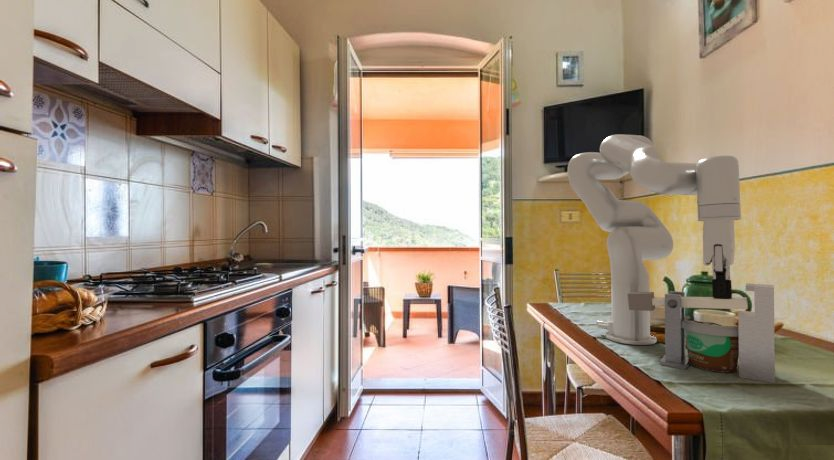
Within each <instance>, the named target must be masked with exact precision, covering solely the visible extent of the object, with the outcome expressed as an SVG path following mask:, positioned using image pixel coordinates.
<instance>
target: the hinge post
mask: <svg viewBox="0 0 834 460" xmlns="http://www.w3.org/2000/svg"><path fill="white" fill-rule="evenodd" d="M681 297H686V292H685V291H676V290H675V291H674V290H669V292H668V293H665V294H664V298H665V306H664V334H665V335H664V353H665V354H664V355H663V356H662V357H661V359H660V360H659V365H660V366H667V367H672V368H675V369H676V368H677V369H682V370H686V369H687V368H688V367H689V365H690V363H689V359H688V355H686V353H687V352H686V334H685V329H684V328H682V327H681V325H682V321H683V320H684V318H685V316H686V308H682V307H681Z"/></svg>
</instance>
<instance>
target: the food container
mask: <svg viewBox="0 0 834 460" xmlns="http://www.w3.org/2000/svg"><path fill="white" fill-rule="evenodd" d="M681 327H682V328H684V329H685V343H686V348H687V350H686V351H687V356H688V359H689V365H691V366H694V367H696V368H699V369H701V370H705V371H712V372H719V373H737V372H738V367H739V326H738V325H735V326H734V325H726V326H725V325H721V324H718V323H715V322H708V321H697V320H694V319H693V320H692V319H691V316H690V315H685V318H684V320H683V321H682V325H681Z"/></svg>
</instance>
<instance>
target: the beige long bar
mask: <svg viewBox="0 0 834 460" xmlns="http://www.w3.org/2000/svg"><path fill="white" fill-rule="evenodd" d="M628 304H629V310H641V311H651V312H652V311H654V310H656V306H657V307H659V306H660V307H662V306H663V307H665V296H664V297H658V296H657V297H655V293H654V291H650V292H630V293H628ZM681 307H682V308H685V309H686V308H687V309H717V310H718V309H722V310H723V309H724V310H748V308H749V304H748V297H744V296H743V297H740V296H739V297H737V296H735V297H733V296H732V298H731V299H715V298H713V296H685V297H681Z"/></svg>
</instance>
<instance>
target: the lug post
mask: <svg viewBox="0 0 834 460" xmlns="http://www.w3.org/2000/svg"><path fill="white" fill-rule="evenodd" d="M745 291H746V292H754V311H748V310H738V317H737V318H738V323H737V324H738V325H737V326H739V357H738V377H739V378H744V379H748V380H755V381H759V382H765V383H771V384H775V383H776V355H775V351H776V350H775V347H776V346H775V341H776V340H775V285H774V284H761V283H746V284H745Z"/></svg>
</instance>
